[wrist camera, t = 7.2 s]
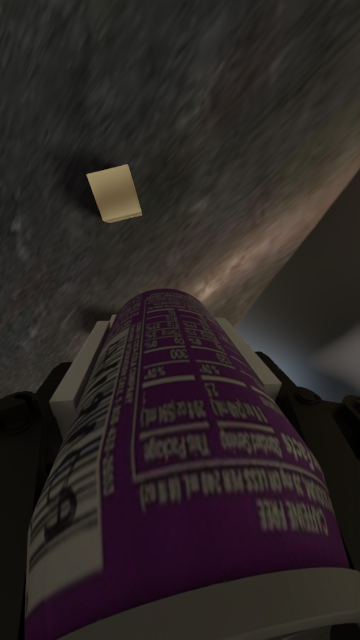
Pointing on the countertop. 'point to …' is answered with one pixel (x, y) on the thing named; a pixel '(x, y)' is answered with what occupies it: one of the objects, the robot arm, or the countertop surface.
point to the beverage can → (183, 499)
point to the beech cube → (115, 193)
